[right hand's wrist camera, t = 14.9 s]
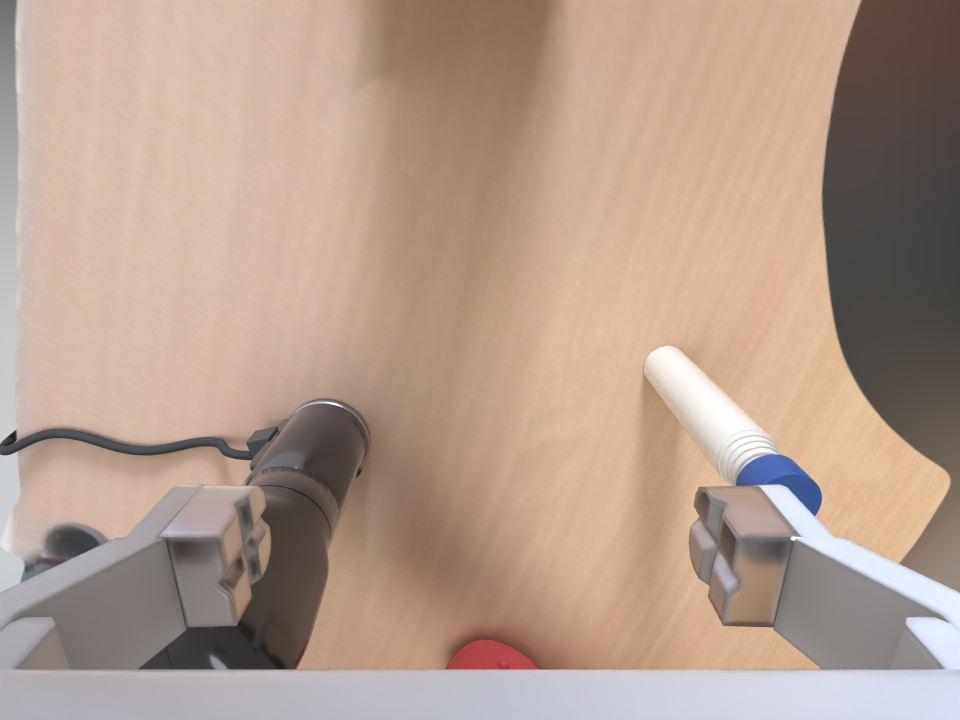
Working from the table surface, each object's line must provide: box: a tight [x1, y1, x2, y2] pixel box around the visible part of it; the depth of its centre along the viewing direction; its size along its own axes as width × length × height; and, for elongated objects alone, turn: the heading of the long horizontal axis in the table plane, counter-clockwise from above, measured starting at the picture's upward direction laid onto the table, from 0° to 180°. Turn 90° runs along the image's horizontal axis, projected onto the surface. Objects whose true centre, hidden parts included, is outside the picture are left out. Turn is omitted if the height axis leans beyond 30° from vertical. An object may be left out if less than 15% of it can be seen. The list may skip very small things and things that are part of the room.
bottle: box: [644, 346, 782, 486], centre depth 49 cm, size 5×5×25 cm
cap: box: [736, 454, 822, 516], centre depth 38 cm, size 4×4×3 cm
